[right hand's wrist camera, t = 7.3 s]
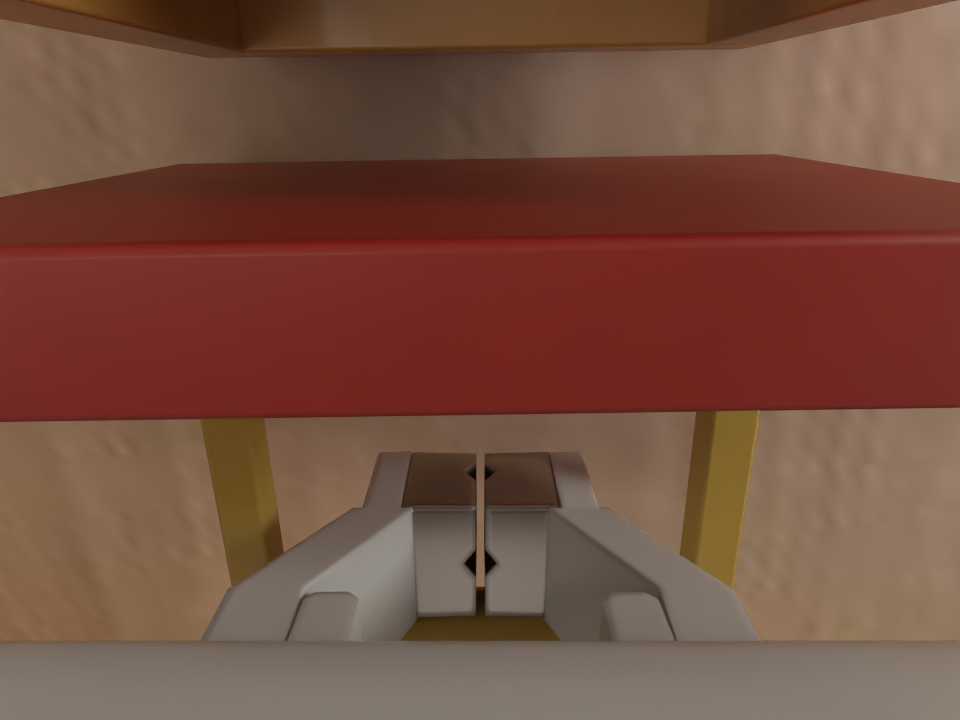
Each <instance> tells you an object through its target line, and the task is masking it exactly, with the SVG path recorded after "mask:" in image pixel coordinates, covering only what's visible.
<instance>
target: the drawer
mask: <svg viewBox="0 0 960 720" xmlns="http://www.w3.org/2000/svg"><path fill="white" fill-rule="evenodd" d="M952 1H956V0H0V19H5V20H10V21H15V22H21V23H26V24H31V25H37V26H42V27H47V28H52V29H58V30H63V31H68V32H74V33H79V34H84V35H90V36H95V37H100V38H106V39H111V40H116V41H122V42H127V43H132V44H138V45H143V46H148V47H154V48H159V49H164V50H170V51H175V52H180V53H187V54H191V55H196V56H202V57H207V58H231V57H291V56H351V55H411V54H470V53H530V52H590V51H650V50H710V49H743V48H748V47H752V46H757V45H761V44H766V43H770V42H775V41H779V40H783V39H788V38H792V37H797V36H801V35H806V34H810V33H814V32H819V31H823V30H828V29H832V28H837V27H841V26H845V25H850V24H854V23H859V22H863V21H868V20H872V19H876V18H881V17H885V16H890V15H894V14H899V13H903V12H907V11H912V10H916V9H921V8H925V7H930V6H934V5H938V4H943V3H947V2H952ZM895 408H960V183H955V182H948V181H942V180H935V179H929V178H923V177H916V176H910V175H903V174H897V173H890V172H884V171H877V170H871V169H865V168H858V167H852V166H845V165H839V164H832V163H826V162H820V161H813V160H807V159H800V158H794V157H787V156H781V155H775V154H770V155H708V156H646V157H584V158H522V159H461V160H399V161H337V162H275V163H213V164H177V165H172V166H167V167H161V168H156V169H151V170H145V171H140V172H134V173H129V174H124V175H118V176H113V177H108V178H102V179H97V180H91V181H86V182H81V183H75V184H70V185H65V186H59V187H54V188H49V189H43V190H38V191H32V192H27V193H22V194H16V195H11V196H6V197H0V422H23V421H90V420H157V419H201V425H202V430H203V435H204V441H205V446H206V451H207V457H208V462H209V467H210V473H211V478H212V483H213V489H214V494H215V499H216V504H217V510H218V515H219V520H220V526H221V531H222V536H223V542H224V547H225V552H226V558H227V563H228V568H229V574H230V579H231V584H232V586H234V585H235V584H237V583H238V582H240V581H241V580H243V579H244V578H246V577H247V576H249V575H251V574H252V573H254V572H255V571H257V570H258V569H260V568H261V567H263V566H264V565H266V564H268V563H269V562H271V561H272V560H274V559H275V558H277V557H278V556H280V555H281V554H283V553H284V551H283V544H282V538H281V531H280V524H279V517H278V511H277V504H276V497H275V491H274V484H273V477H272V471H271V464H270V457H269V451H268V444H267V437H266V430H265V424H264V418H292V417H359V416H426V415H493V414H560V413H627V412H694V411H696V420H695V428H694V437H693V446H692V454H691V463H690V472H689V480H688V489H687V498H686V507H685V515H684V524H683V533H682V541H681V550H680V555H681V556H683V557H684V558H686V559H687V560H689V561H690V562H692V563H693V564H695V565H696V566H698V567H699V568H701V569H703V570H704V571H706V572H707V573H709V574H710V575H712V576H713V577H715V578H716V579H718V580H720V581H721V582H723V583H724V584H726V585H727V586H729V587H730V588H732V589H733V584H734V578H735V571H736V565H737V558H738V552H739V545H740V539H741V532H742V526H743V519H744V513H745V506H746V500H747V493H748V487H749V480H750V474H751V467H752V461H753V454H754V448H755V441H756V435H757V428H758V422H759V415H760V411H761V410H828V409H895ZM400 641H561V640H560V639H559V637H558V636H557V635H556V634H555V633H554V631H553V630H552V629H551V628H550V627H549V625H548V624H547V623H546V622H545V621H544V617H507V616H485V587H476V616H452V617H417V621H416V622H415V624H414V625H413V626H412V627H411V628H410V630H409V631H408V632H407V633H406V634H405V636H404V637H403V638H402V639H401V640H400Z"/></svg>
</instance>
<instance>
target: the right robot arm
mask: <svg viewBox="0 0 960 720" xmlns="http://www.w3.org/2000/svg"><path fill="white" fill-rule="evenodd" d="M476 502H477V497H476V453H432V452H414V453H412V452H411V451H408V452H381V453H380V454H379V455H378V457H377V461H376V464H375V467H374V471H373V474H372V477H371V481H370V484H369V487H368V491H367V494H366V498H365V501H364V504H363V508H352V509H351V510H349V511H348V512H346V513H345V514H343V515H342V516H340V517H338V518H337V519H335V520H334V521H332V522H331V523H329V524H328V525H326V526H325V527H323V528H322V529H320V530H318V531H317V532H315V533H314V534H312V535H311V536H309V537H308V538H306V539H305V540H303V541H301V542H300V543H298V544H297V545H295V546H294V547H292V548H291V549H289V550H288V551H286V552H284V553H283V554H281V555H280V556H278V557H277V558H275V559H274V560H272V561H271V562H269V563H268V564H266V565H264V566H263V567H261V568H260V569H258V570H257V571H255V572H254V573H252V574H251V575H249V576H247V577H246V578H244V579H243V580H241V581H240V582H238V583H237V584H235V585H234V586H232V587H230V588H229V589H228V590H227V592H226V594H225V596H224V598H223V600H222V601H221V603H220V605H219V607H218V609H217V611H216V613H215V615H214V616H213V618H212V620H211V622H210V624H209V626H208V628H207V630H206V632H205V633H204V635H203V637H202V639H201V641H0V720H960V641H761V640H760V638H759V636H758V634H757V633H756V631H755V629H754V627H753V625H752V623H751V621H750V619H749V617H748V615H747V614H746V612H745V610H744V608H743V606H742V604H741V602H740V600H739V598H738V596H737V595H736V593H735V591H734V590H733V589H732V588H730V587H729V586H727V585H726V584H724V583H723V582H721V581H720V580H718V579H716V578H715V577H713V576H712V575H710V574H709V573H707V572H706V571H704V570H703V569H701V568H699V567H698V566H696V565H695V564H693V563H692V562H690V561H689V560H687V559H686V558H684V557H683V556H681V555H679V554H678V553H676V552H675V551H673V550H672V549H670V548H669V547H667V546H666V545H664V544H663V543H661V542H659V541H658V540H656V539H655V538H653V537H652V536H650V535H649V534H647V533H646V532H644V531H643V530H641V529H639V528H638V527H636V526H635V525H633V524H632V523H630V522H629V521H627V520H626V519H624V518H623V517H621V516H619V515H618V514H616V513H615V512H613V511H612V510H610V509H609V508H598V504H597V501H596V498H595V494H594V491H593V488H592V485H591V481H590V478H589V475H588V471H587V468H586V465H585V462H584V458H583V455H582V453H580V452H579V451H575V452H553V453H548V452H529V453H487V454H485V472H484V502H485V503H484V555H485V616H507V617H544V621H545V622H546V623H547V624H548V625H549V627H550V628H551V629H552V630H553V631H554V633H555V634H556V635H557V636H558V637H559V639H560V640H561V641H400V640H401V639H402V638H403V637H404V636H405V634H406V633H407V632H408V631H409V630H410V628H411V627H412V626H413V625H414V624H415V622H416V621H417V617H452V616H476V538H477V508H476Z"/></svg>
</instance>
